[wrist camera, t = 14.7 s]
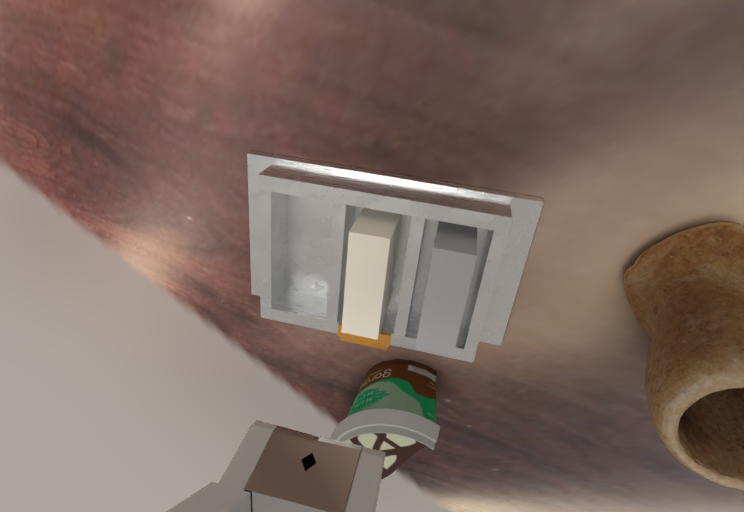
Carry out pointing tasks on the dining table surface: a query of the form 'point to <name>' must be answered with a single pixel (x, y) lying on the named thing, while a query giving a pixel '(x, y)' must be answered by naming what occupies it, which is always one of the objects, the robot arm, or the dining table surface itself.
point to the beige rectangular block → (370, 271)
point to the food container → (393, 412)
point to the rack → (414, 252)
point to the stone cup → (695, 345)
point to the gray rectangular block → (447, 287)
